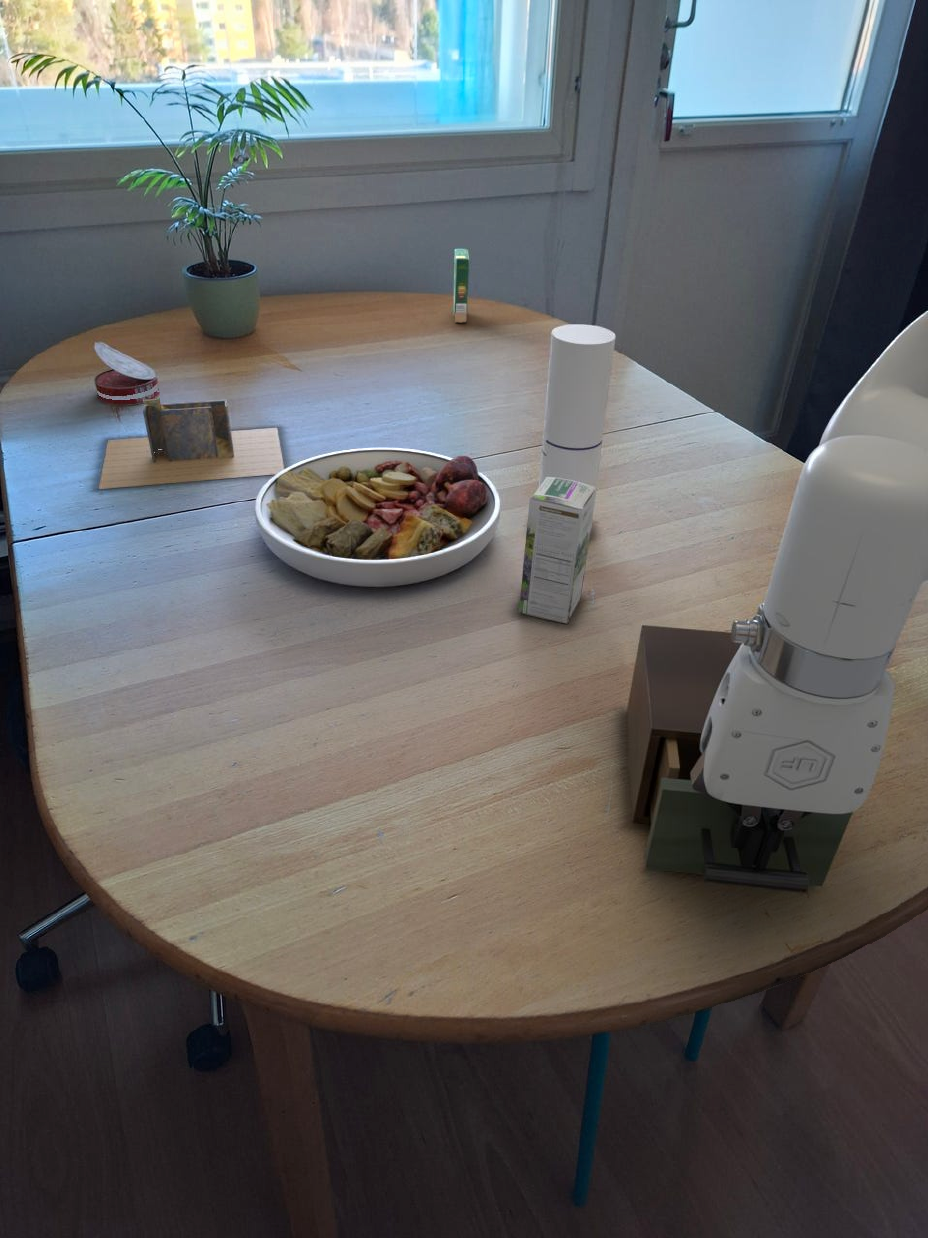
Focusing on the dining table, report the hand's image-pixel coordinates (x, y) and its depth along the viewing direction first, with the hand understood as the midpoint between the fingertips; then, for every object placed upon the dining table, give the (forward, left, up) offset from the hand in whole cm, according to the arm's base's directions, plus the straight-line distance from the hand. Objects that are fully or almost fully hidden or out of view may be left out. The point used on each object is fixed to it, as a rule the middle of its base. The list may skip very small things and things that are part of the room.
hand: (749, 852), depth 62 cm
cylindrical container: (+14, -56, -7) cm, 58 cm away
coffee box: (+37, -144, -7) cm, 148 cm away
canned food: (+87, -91, -7) cm, 126 cm away
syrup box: (+15, -38, -7) cm, 42 cm away
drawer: (0, -6, -5) cm, 8 cm away
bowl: (+37, -51, -7) cm, 63 cm away
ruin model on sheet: (+68, -69, -7) cm, 97 cm away
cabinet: (0, -14, -6) cm, 16 cm away
